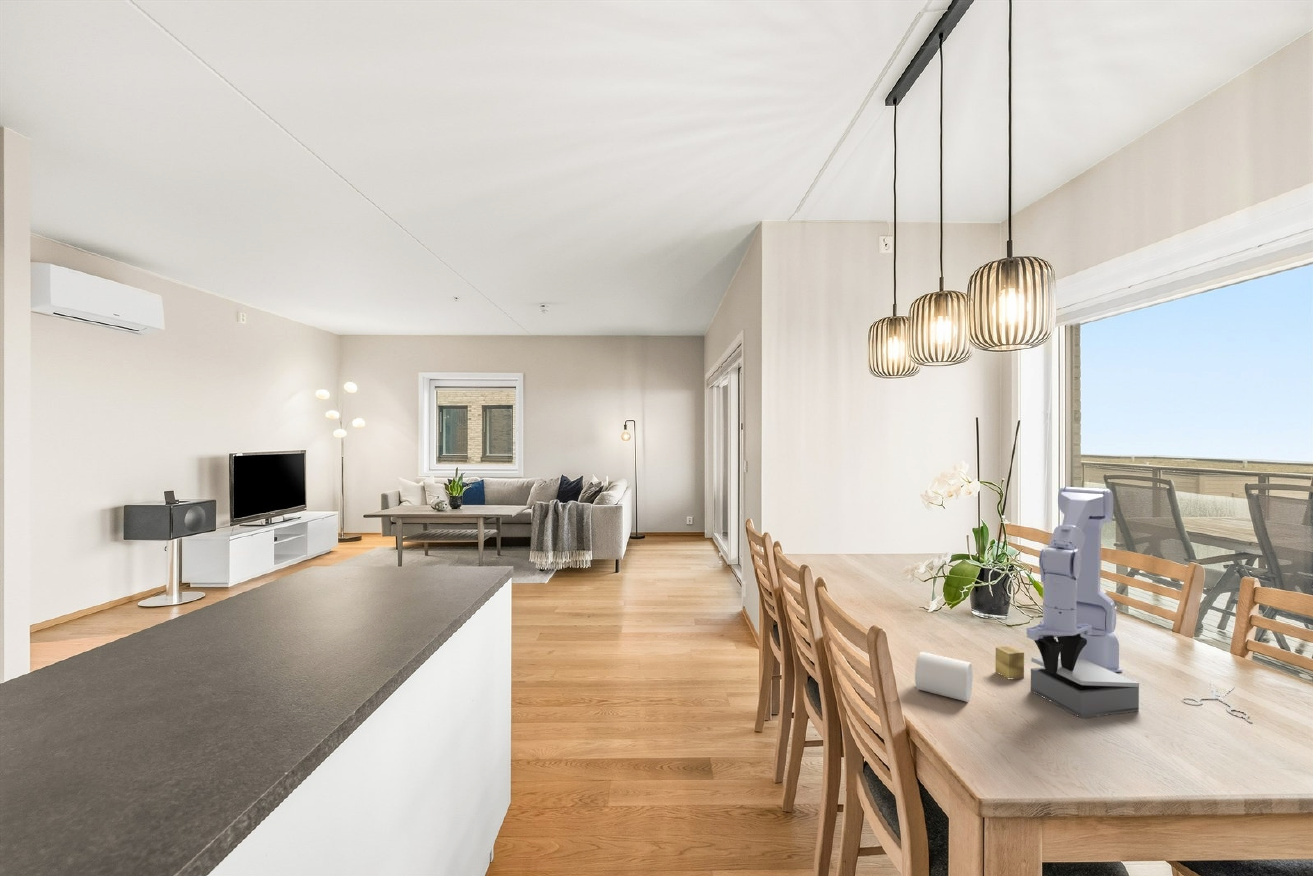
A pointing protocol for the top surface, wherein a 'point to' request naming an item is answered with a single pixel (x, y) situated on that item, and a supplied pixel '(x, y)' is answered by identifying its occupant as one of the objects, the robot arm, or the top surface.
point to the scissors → (1216, 697)
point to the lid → (1091, 674)
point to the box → (1084, 695)
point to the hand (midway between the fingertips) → (1059, 670)
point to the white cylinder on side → (944, 676)
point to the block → (1010, 662)
